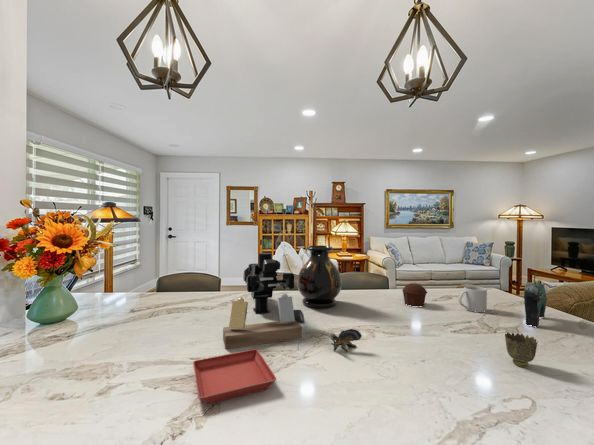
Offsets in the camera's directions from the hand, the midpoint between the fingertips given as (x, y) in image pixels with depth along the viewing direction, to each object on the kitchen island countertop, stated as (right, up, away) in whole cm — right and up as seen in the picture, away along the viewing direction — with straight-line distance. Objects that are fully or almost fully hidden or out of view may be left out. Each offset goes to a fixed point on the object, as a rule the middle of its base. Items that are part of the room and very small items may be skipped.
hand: (276, 286), depth 107 cm
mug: (+89, -17, +28) cm, 95 cm away
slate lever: (+4, -13, -3) cm, 14 cm away
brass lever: (-13, -13, -9) cm, 20 cm away
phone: (+6, -17, +16) cm, 24 cm away
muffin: (+65, -17, +36) cm, 76 cm away
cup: (+72, -17, -23) cm, 77 cm away
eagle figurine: (+23, -17, -14) cm, 32 cm away
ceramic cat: (+105, -17, +12) cm, 107 cm away
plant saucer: (-9, -18, -32) cm, 38 cm away
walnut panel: (-4, -17, -6) cm, 18 cm away
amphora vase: (+18, -16, +36) cm, 43 cm away
